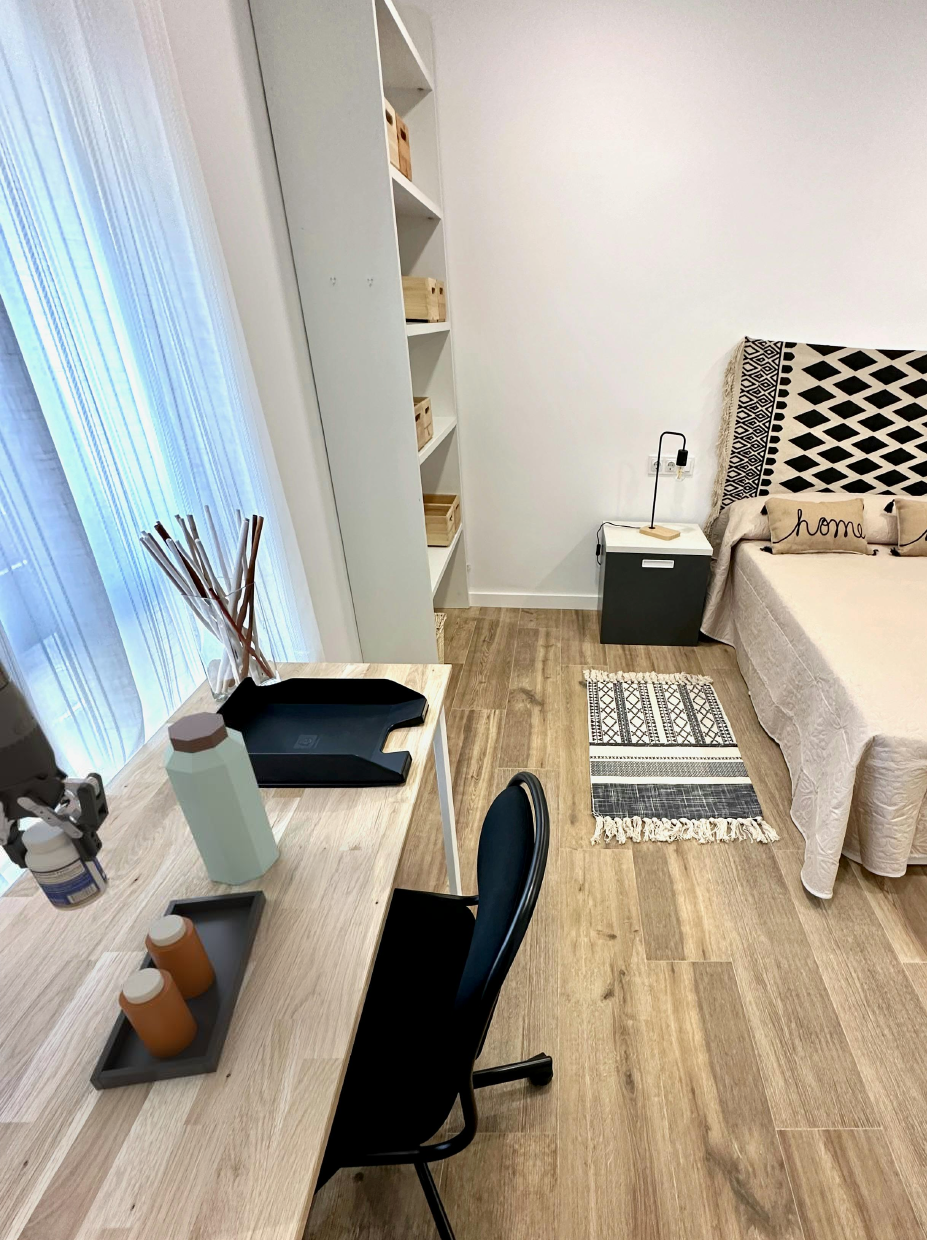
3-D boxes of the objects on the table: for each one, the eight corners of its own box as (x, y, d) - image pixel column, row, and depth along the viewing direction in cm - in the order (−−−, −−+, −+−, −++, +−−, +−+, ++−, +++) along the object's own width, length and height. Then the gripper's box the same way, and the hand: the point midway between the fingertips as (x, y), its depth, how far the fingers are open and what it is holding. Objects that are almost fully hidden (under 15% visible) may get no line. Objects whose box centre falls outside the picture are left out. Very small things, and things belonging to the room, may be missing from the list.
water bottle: (258, 832, 99) (213, 697, 86) (296, 860, 95) (255, 722, 81) (194, 870, 92) (135, 729, 79) (232, 902, 88) (176, 759, 74)
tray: (100, 1095, 66) (88, 1080, 65) (177, 915, 86) (170, 900, 84) (218, 1077, 68) (210, 1062, 67) (268, 904, 88) (262, 890, 86)
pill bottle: (69, 877, 73) (32, 814, 68) (119, 874, 74) (86, 811, 68) (41, 915, 69) (-1, 850, 63) (94, 911, 69) (57, 847, 64)
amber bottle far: (141, 1062, 68) (105, 1007, 63) (157, 1020, 72) (125, 965, 67) (189, 1055, 69) (158, 1000, 64) (202, 1014, 73) (174, 959, 67)
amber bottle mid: (164, 1003, 74) (133, 947, 69) (178, 967, 78) (150, 912, 72) (208, 997, 75) (181, 941, 69) (220, 962, 79) (195, 907, 73)
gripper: (89, 704, 63) (147, 828, 72) (-75, 714, 61) (7, 842, 70) (51, 747, 57) (120, 878, 66) (-134, 761, 55) (-36, 894, 64)
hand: (61, 859), depth 68 cm, fingers closed on pill bottle, 5 cm apart
